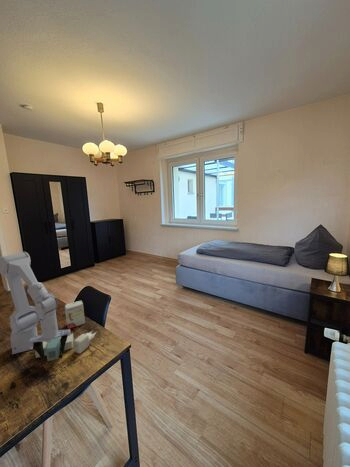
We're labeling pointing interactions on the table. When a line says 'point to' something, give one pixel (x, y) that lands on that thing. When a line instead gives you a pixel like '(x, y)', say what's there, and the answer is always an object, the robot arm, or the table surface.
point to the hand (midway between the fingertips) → (53, 354)
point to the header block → (67, 345)
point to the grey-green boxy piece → (53, 349)
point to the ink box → (74, 314)
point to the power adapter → (83, 342)
